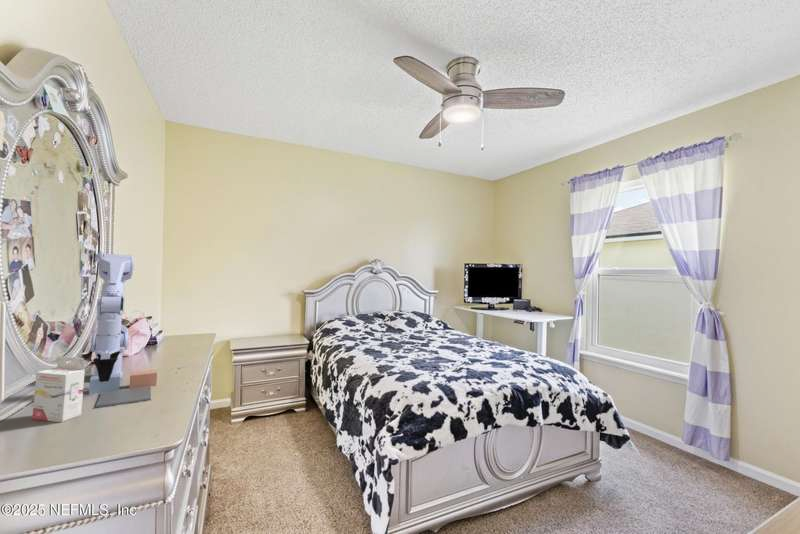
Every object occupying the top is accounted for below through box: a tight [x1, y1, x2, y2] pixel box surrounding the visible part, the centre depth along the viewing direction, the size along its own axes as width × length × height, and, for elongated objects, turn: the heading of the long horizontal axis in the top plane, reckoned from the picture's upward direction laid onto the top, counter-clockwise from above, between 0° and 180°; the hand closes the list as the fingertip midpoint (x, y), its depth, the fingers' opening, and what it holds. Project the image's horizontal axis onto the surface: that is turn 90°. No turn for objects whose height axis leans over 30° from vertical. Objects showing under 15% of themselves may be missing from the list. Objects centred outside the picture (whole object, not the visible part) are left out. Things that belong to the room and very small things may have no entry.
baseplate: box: [95, 385, 152, 409], centre depth 101 cm, size 14×12×1 cm
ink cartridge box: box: [31, 355, 86, 423], centre depth 85 cm, size 9×5×15 cm, turn 84°
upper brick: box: [128, 369, 158, 388], centre depth 111 cm, size 4×7×4 cm, turn 128°
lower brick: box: [88, 373, 121, 395], centre depth 105 cm, size 4×7×4 cm, turn 129°
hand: (105, 378), depth 105 cm, fingers open, 7 cm apart
